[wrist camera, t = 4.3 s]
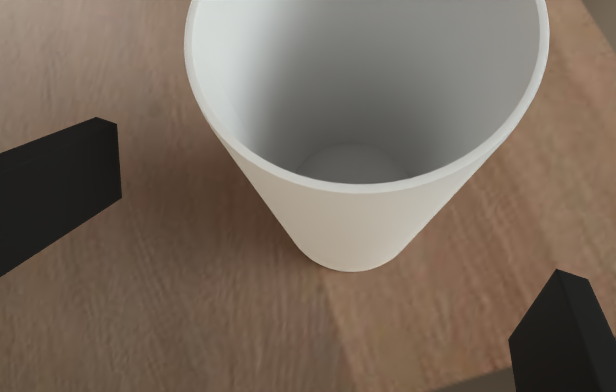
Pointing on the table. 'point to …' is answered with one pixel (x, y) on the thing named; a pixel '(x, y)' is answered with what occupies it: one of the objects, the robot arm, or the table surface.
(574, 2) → the table surface
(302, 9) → the cup
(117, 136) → the robot arm
